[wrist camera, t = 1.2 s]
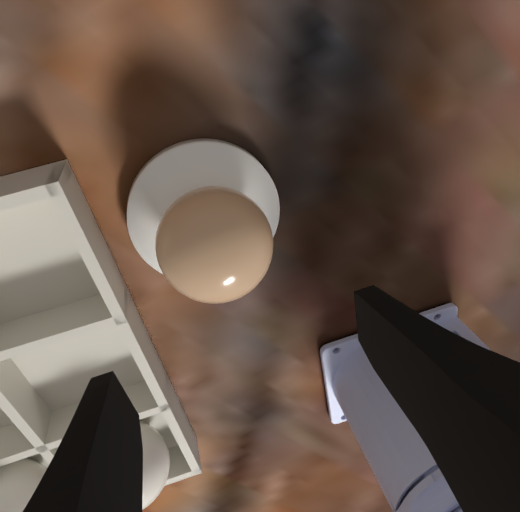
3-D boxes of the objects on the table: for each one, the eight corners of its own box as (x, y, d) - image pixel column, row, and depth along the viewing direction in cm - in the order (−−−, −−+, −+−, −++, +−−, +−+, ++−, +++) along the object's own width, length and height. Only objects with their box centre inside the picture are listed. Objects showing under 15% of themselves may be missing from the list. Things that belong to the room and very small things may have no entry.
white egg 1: (40, 429, 24) (22, 515, 20) (76, 473, 27) (66, 557, 23) (-47, 458, 23) (-84, 552, 19) (-2, 500, 26) (-26, 590, 22)
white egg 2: (152, 392, 25) (156, 468, 21) (176, 439, 27) (183, 514, 23) (70, 419, 24) (58, 503, 20) (103, 464, 27) (97, 545, 23)
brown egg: (246, 156, 18) (277, 200, 14) (265, 247, 21) (296, 306, 17) (137, 186, 18) (138, 241, 14) (171, 275, 20) (180, 343, 16)
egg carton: (67, 159, 17) (58, 181, 15) (196, 437, 28) (201, 472, 26) (-295, 253, 16) (-359, 292, 14) (-8, 508, 27) (-20, 551, 25)
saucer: (261, 120, 18) (265, 125, 18) (284, 251, 22) (289, 258, 22) (102, 162, 18) (101, 168, 17) (155, 290, 22) (156, 299, 21)
